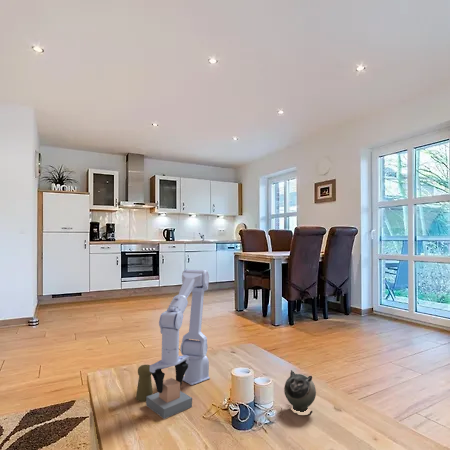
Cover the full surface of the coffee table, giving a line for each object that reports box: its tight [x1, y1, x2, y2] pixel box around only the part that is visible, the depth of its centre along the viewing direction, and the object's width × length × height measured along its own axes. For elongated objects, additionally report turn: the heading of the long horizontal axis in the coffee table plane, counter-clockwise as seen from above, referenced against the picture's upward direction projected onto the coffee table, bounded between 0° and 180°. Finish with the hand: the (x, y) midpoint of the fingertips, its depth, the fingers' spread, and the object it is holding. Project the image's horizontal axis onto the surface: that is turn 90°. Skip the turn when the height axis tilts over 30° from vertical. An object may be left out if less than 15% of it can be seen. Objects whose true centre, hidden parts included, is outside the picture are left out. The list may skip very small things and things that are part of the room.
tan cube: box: [159, 377, 181, 403], centre depth 109 cm, size 5×5×5 cm
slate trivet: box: [145, 390, 193, 420], centre depth 109 cm, size 11×11×3 cm
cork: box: [135, 364, 154, 402], centre depth 115 cm, size 6×6×11 cm
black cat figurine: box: [283, 369, 317, 412], centre depth 108 cm, size 10×12×10 cm
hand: (169, 388), depth 109 cm, fingers open, 7 cm apart
